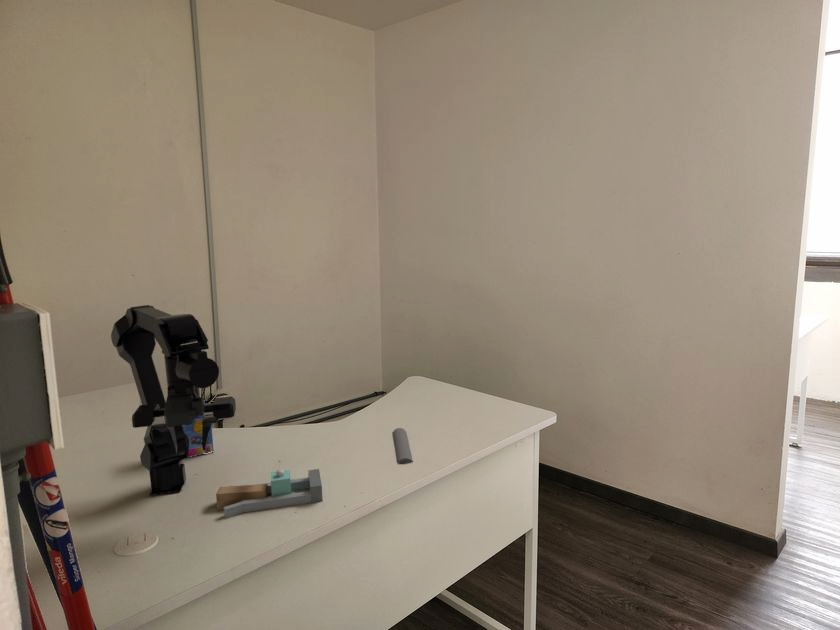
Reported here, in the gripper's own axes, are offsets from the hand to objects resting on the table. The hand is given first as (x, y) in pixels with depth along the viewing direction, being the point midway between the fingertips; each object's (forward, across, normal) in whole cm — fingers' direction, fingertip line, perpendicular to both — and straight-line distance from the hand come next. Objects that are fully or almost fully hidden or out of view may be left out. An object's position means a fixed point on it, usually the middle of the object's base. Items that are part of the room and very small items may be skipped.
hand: (190, 451), depth 111 cm
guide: (+13, +16, 0) cm, 21 cm away
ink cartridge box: (+13, -4, +30) cm, 33 cm away
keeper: (+13, +17, 0) cm, 22 cm away
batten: (+13, +10, 0) cm, 16 cm away
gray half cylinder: (+14, +48, +18) cm, 53 cm away
